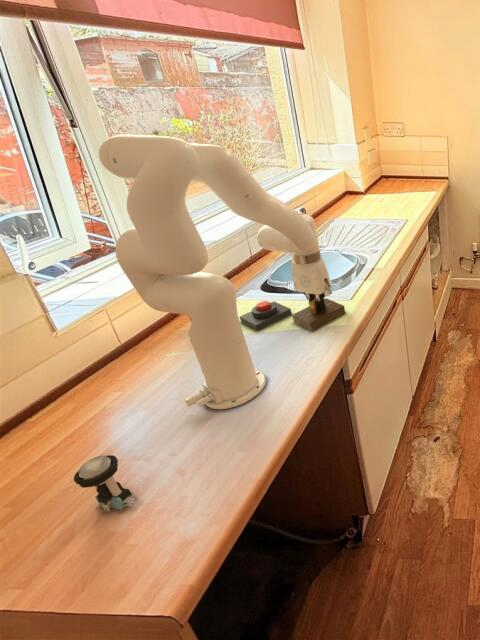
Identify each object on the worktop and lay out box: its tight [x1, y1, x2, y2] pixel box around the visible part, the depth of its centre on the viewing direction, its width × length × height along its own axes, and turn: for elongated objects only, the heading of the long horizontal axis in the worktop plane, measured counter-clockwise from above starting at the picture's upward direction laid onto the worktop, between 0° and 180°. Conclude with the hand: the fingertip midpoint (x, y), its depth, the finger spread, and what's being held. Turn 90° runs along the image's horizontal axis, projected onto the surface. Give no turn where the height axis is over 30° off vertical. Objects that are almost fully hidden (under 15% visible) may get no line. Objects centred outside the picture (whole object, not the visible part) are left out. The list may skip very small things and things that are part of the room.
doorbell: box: [239, 301, 293, 332], centre depth 125 cm, size 11×9×4 cm
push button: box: [73, 454, 138, 512], centre depth 69 cm, size 7×5×10 cm
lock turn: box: [308, 298, 326, 314], centre depth 125 cm, size 5×1×4 cm, turn 165°
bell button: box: [255, 300, 271, 311], centre depth 124 cm, size 4×4×2 cm
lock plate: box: [292, 297, 346, 332], centre depth 126 cm, size 12×9×3 cm
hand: (318, 309), depth 126 cm, fingers closed
